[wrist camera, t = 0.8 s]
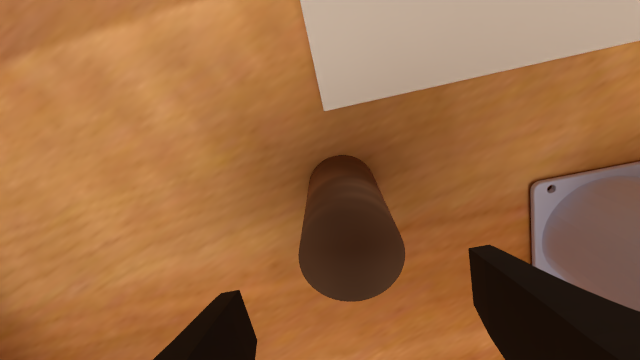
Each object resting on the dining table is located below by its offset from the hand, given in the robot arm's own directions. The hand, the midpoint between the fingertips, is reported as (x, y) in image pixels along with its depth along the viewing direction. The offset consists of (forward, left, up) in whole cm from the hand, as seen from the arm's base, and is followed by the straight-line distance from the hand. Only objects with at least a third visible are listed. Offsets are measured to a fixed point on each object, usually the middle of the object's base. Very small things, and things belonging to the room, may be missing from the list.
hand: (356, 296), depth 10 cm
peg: (0, 0, -10) cm, 10 cm away
